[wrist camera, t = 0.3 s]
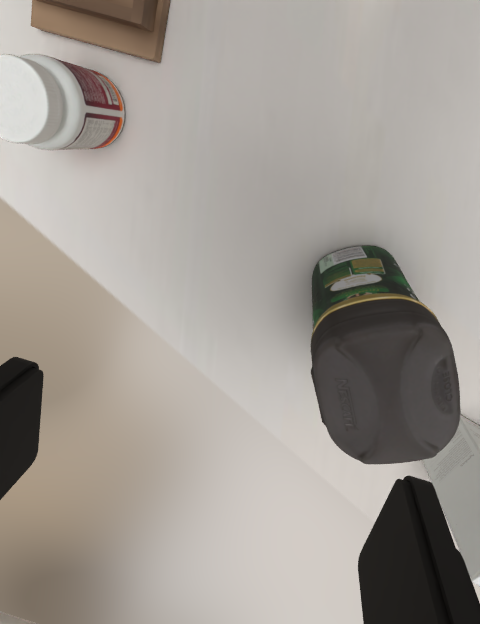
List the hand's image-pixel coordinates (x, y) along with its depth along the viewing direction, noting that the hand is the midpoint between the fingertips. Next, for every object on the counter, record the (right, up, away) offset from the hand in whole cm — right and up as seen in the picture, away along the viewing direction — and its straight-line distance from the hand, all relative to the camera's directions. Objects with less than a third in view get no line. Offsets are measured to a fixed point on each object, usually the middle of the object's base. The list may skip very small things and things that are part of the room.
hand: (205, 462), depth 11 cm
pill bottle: (-12, +21, +27) cm, 36 cm away
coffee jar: (+12, +6, +29) cm, 32 cm away
